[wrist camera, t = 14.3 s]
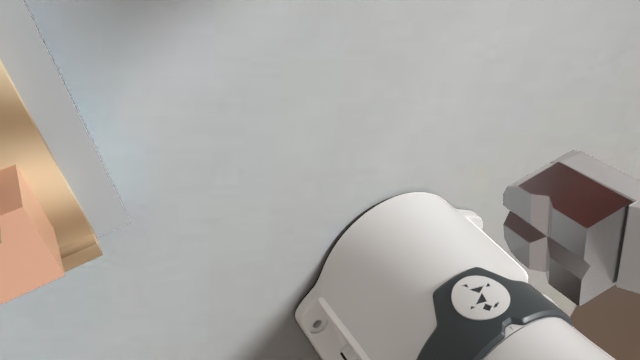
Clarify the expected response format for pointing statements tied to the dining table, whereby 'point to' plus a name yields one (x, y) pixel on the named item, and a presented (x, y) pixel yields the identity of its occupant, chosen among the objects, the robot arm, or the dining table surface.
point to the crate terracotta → (24, 239)
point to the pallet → (43, 177)
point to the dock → (58, 117)
